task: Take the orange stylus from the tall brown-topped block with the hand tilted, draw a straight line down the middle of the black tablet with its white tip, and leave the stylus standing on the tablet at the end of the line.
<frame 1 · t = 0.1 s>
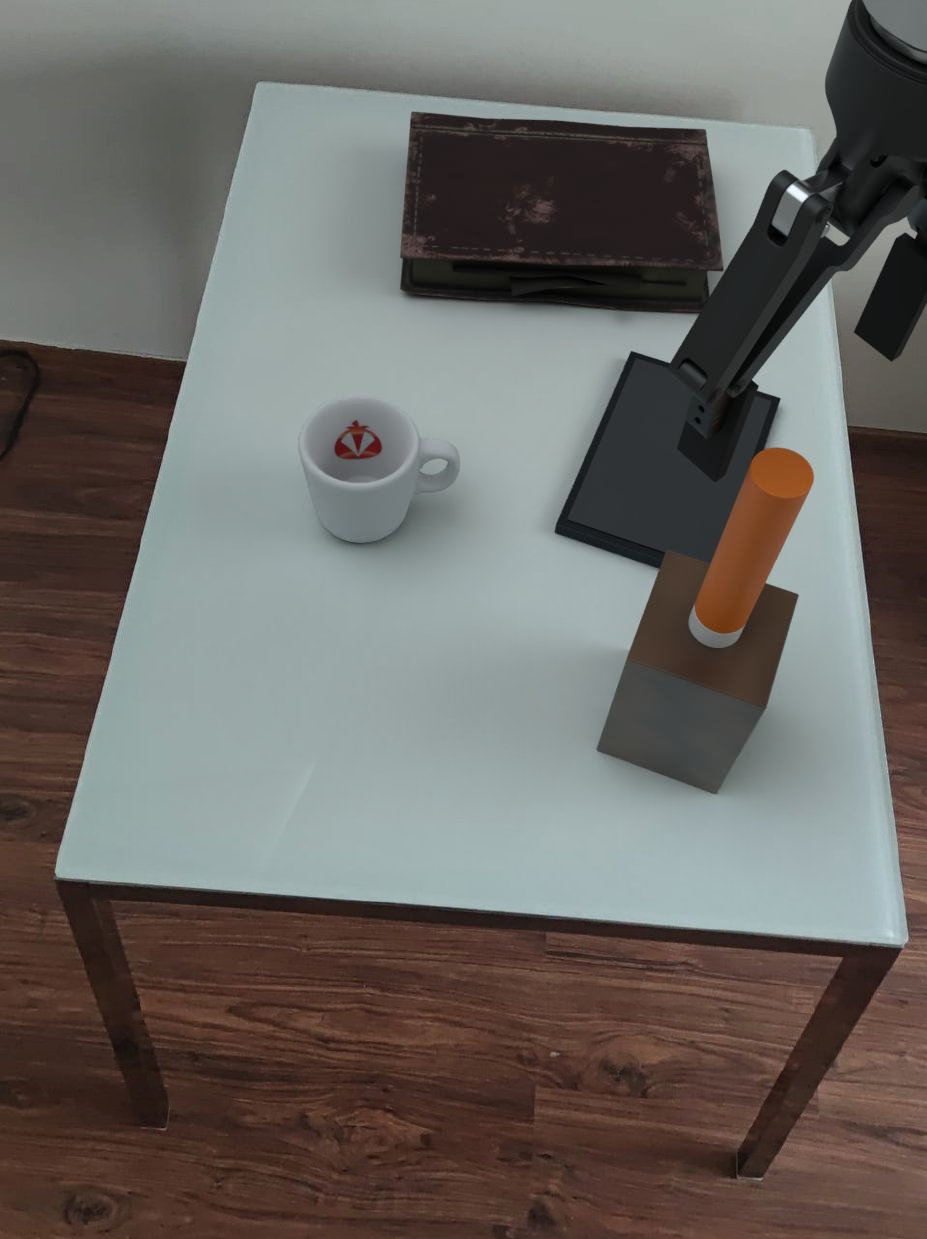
hand: (792, 401, 64), 23 cm above the table, tool pointing down, fingers open, 13 cm apart
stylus: (714, 625, 69), point 12 cm above the table, touching tall brown-topped block
tablet: (670, 467, 90), on the table
cup: (381, 511, 87), on the table
diary: (553, 235, 102), on the table
tall brown-topped block: (673, 720, 79), on the table
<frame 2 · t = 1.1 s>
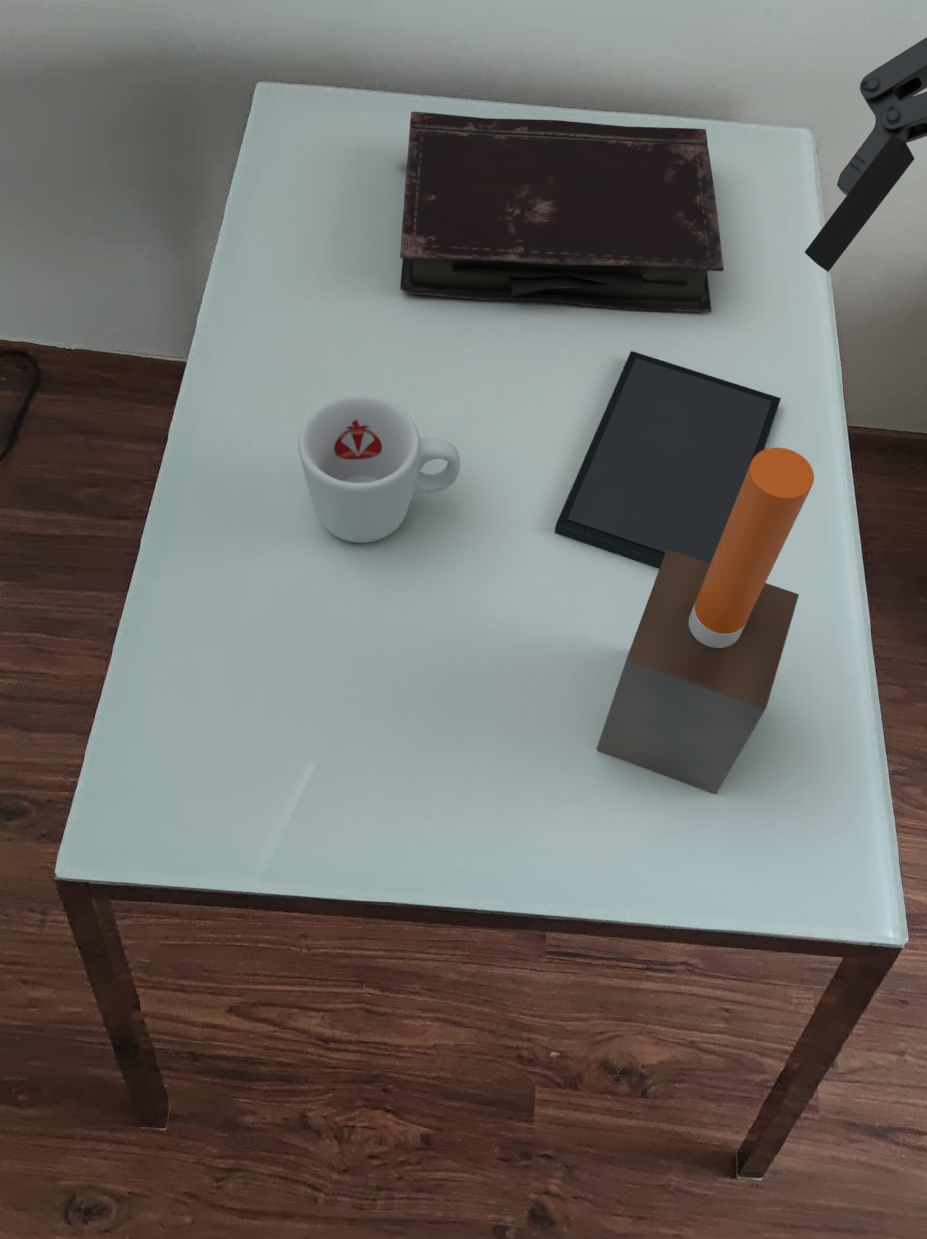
hand: (925, 340, 59), 28 cm above the table, tool tilted 45°, fingers open, 13 cm apart
nothing on the table moved.
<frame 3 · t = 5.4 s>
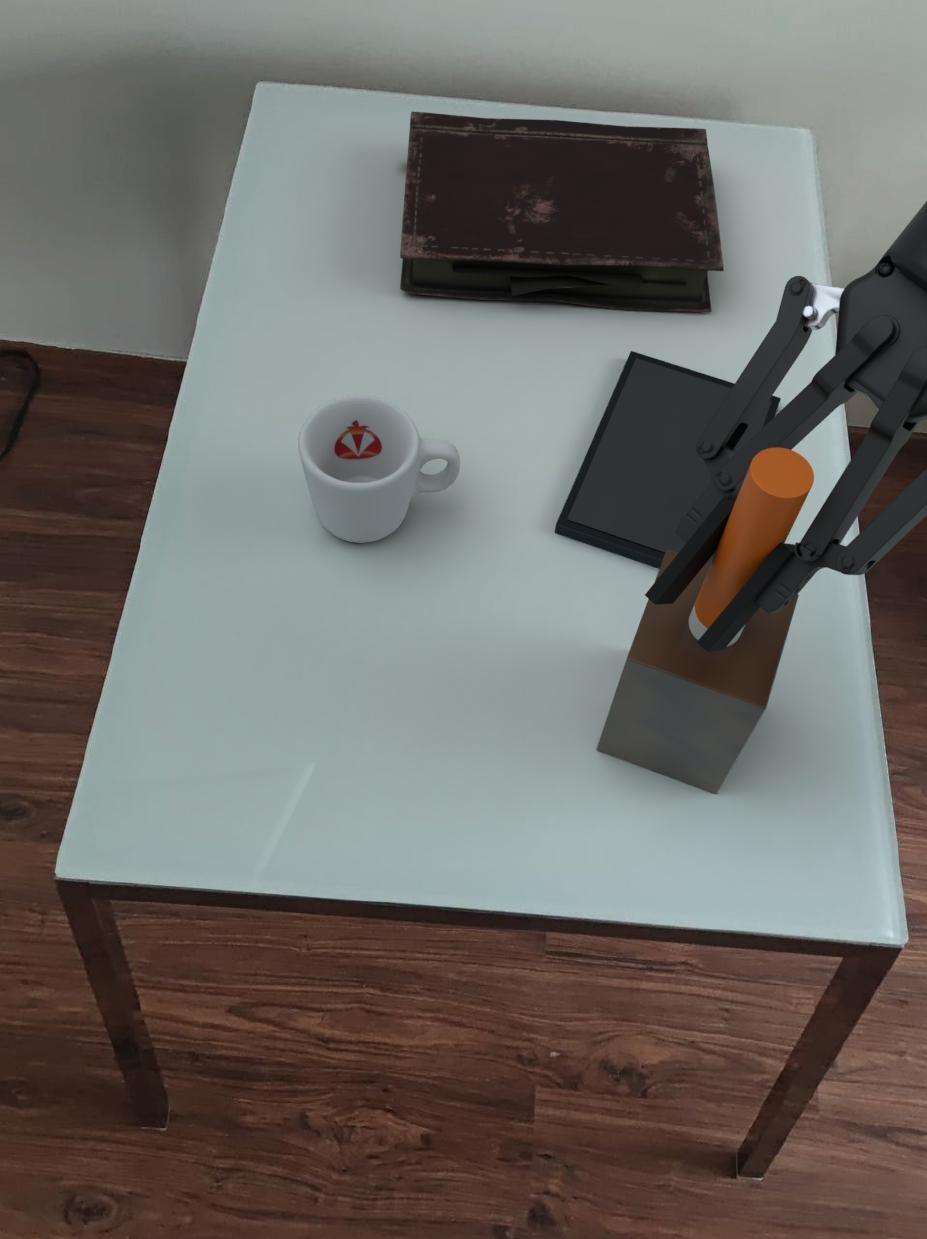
hand: (685, 621, 63), 17 cm above the table, tool tilted 45°, fingers closed on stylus, 3 cm apart
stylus: (714, 625, 69), point 12 cm above the table, touching gripper, tall brown-topped block
everything else where it was.
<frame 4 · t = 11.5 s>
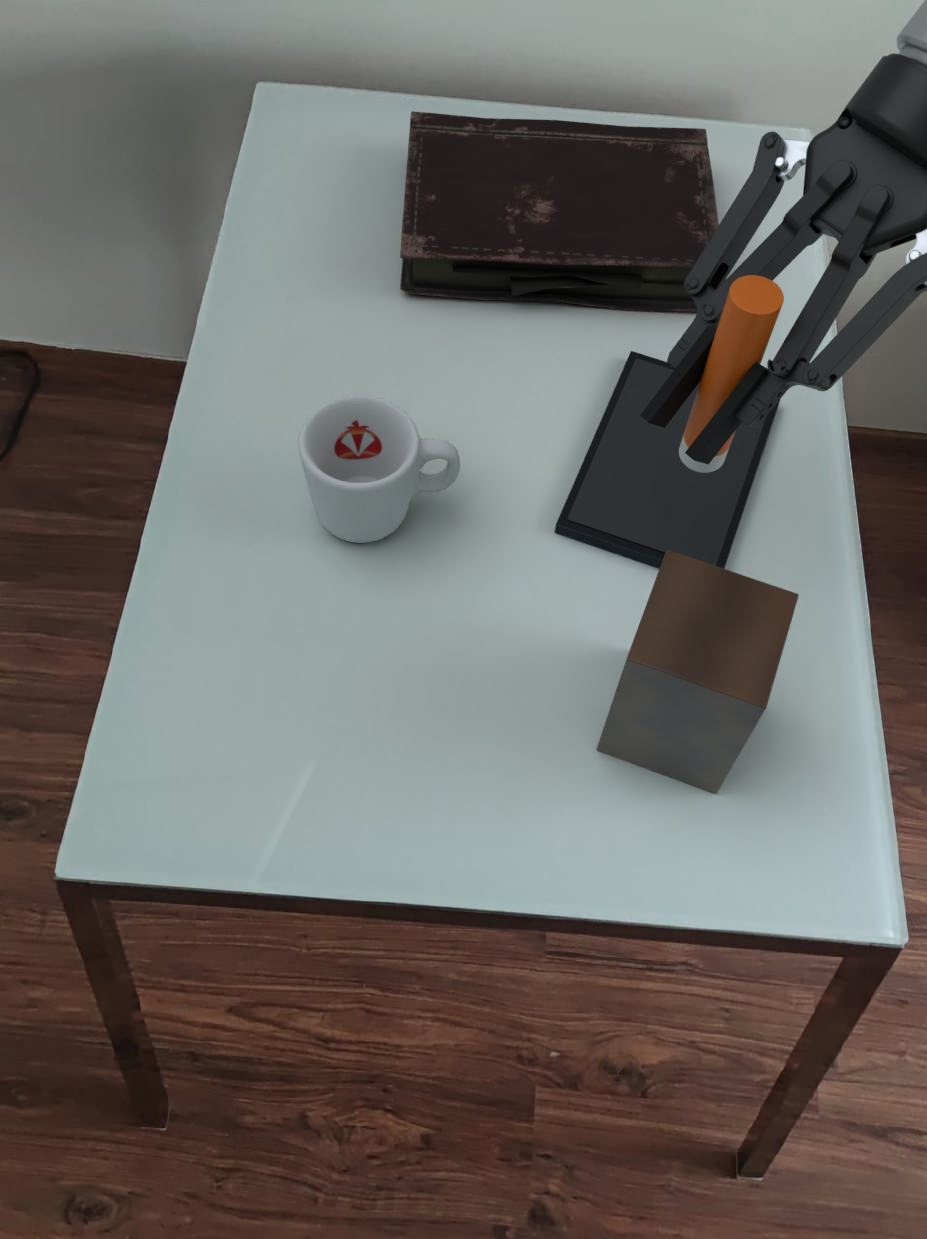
hand: (674, 439, 73), 14 cm above the table, tool tilted 45°, fingers closed on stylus, 3 cm apart
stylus: (701, 454, 79), point 9 cm above the table, touching gripper
everything else where it was.
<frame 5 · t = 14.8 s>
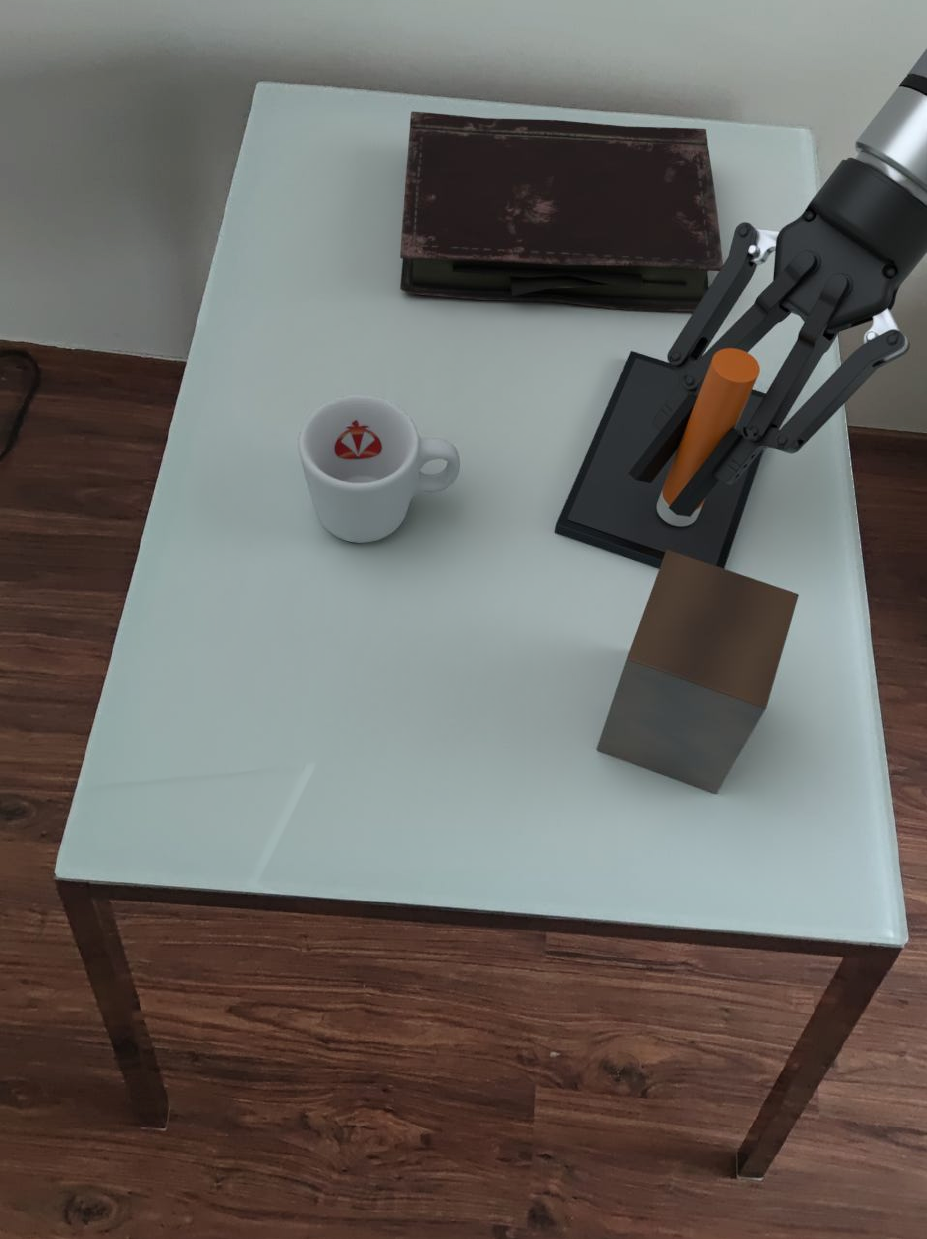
hand: (659, 494, 81), 6 cm above the table, tool tilted 45°, fingers closed on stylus, 3 cm apart
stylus: (677, 510, 86), point 1 cm above the table, tilted 5°, touching gripper
everything else where it was.
when the fingers open (6 cm above the table, at t = 17.6 s): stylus stays where it is, resting on tablet.
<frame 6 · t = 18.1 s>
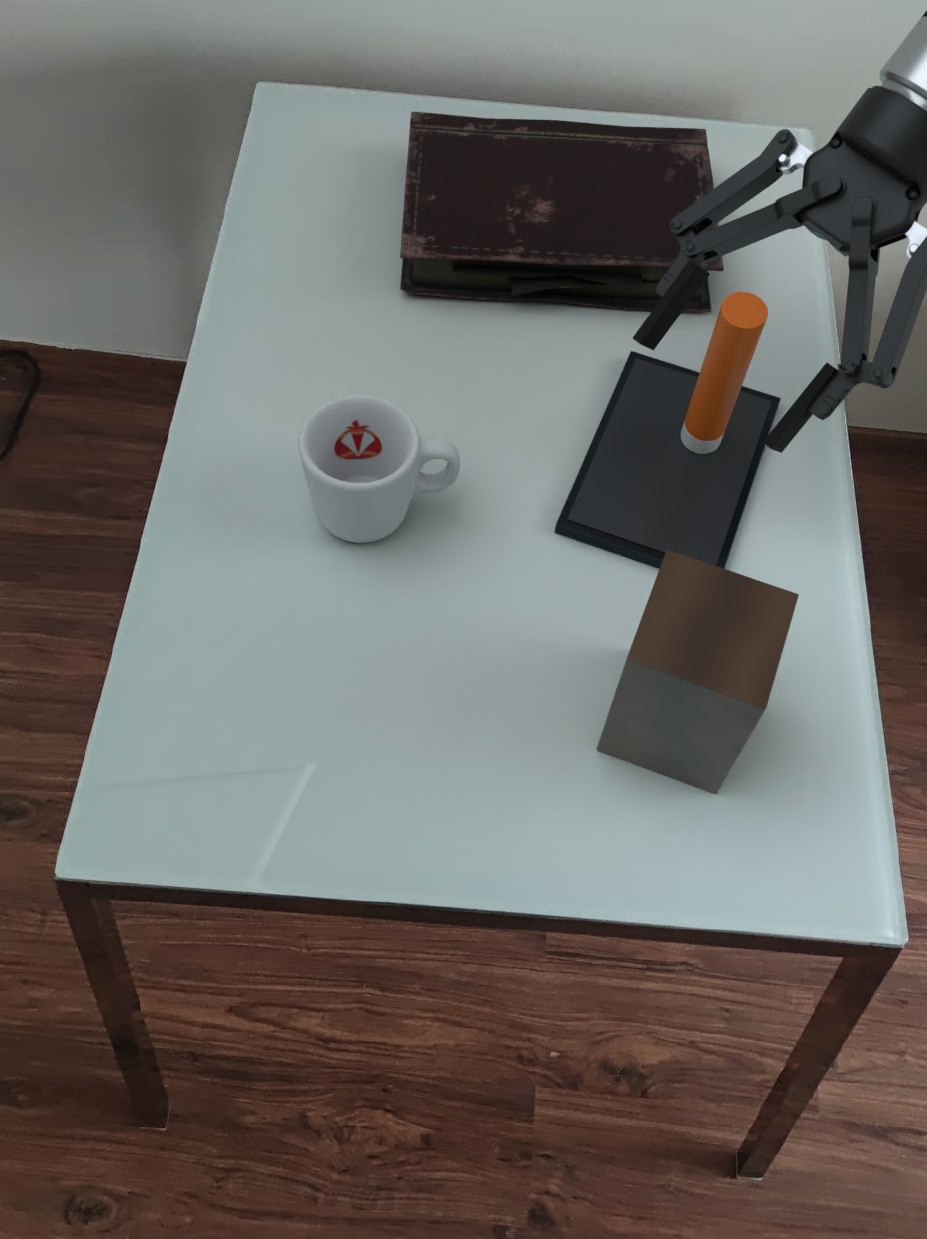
hand: (705, 395, 85), 7 cm above the table, tool tilted 45°, fingers open, 11 cm apart
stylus: (700, 437, 90), point 1 cm above the table, touching tablet
everything else where it was.
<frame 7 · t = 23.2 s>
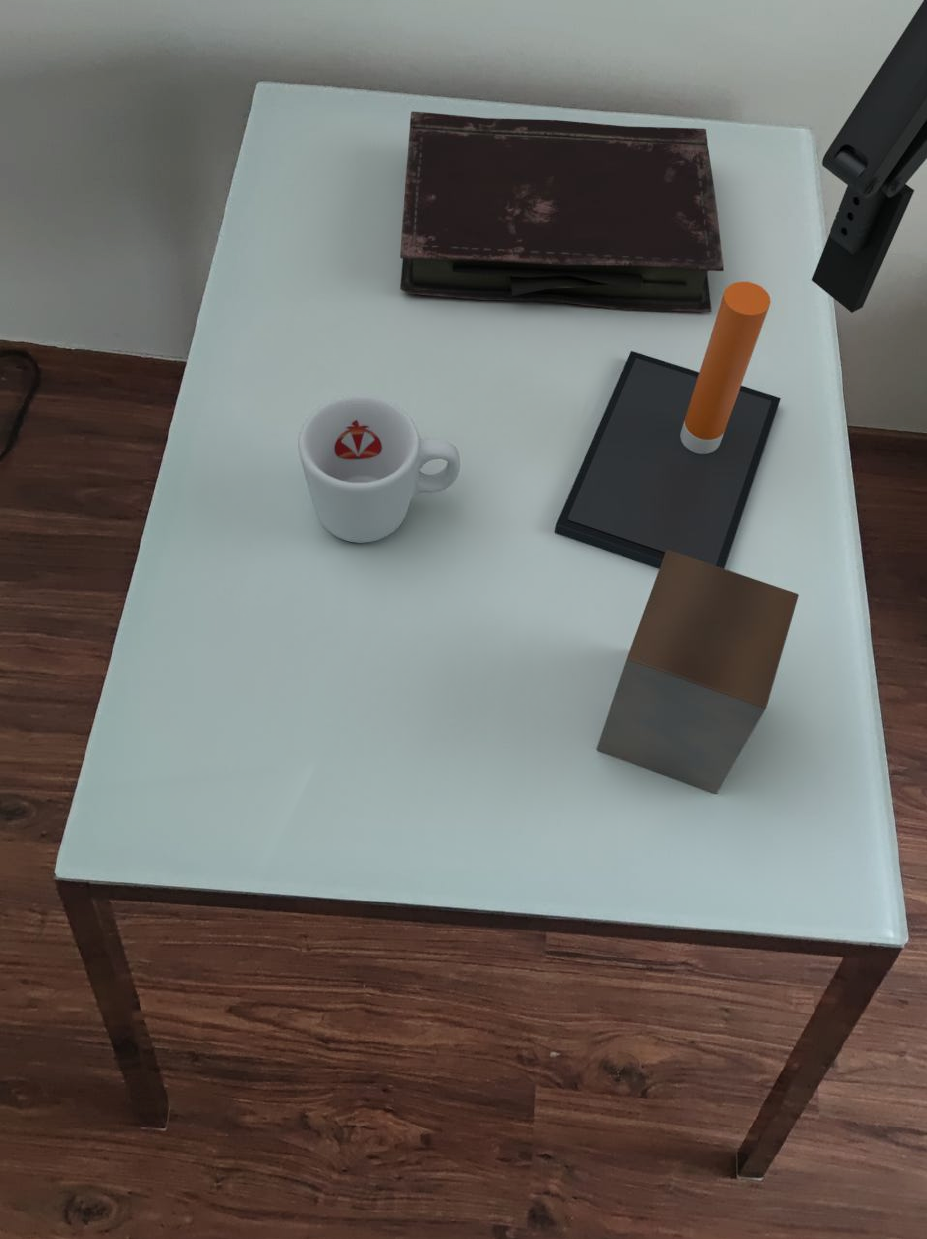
nothing on the table moved.
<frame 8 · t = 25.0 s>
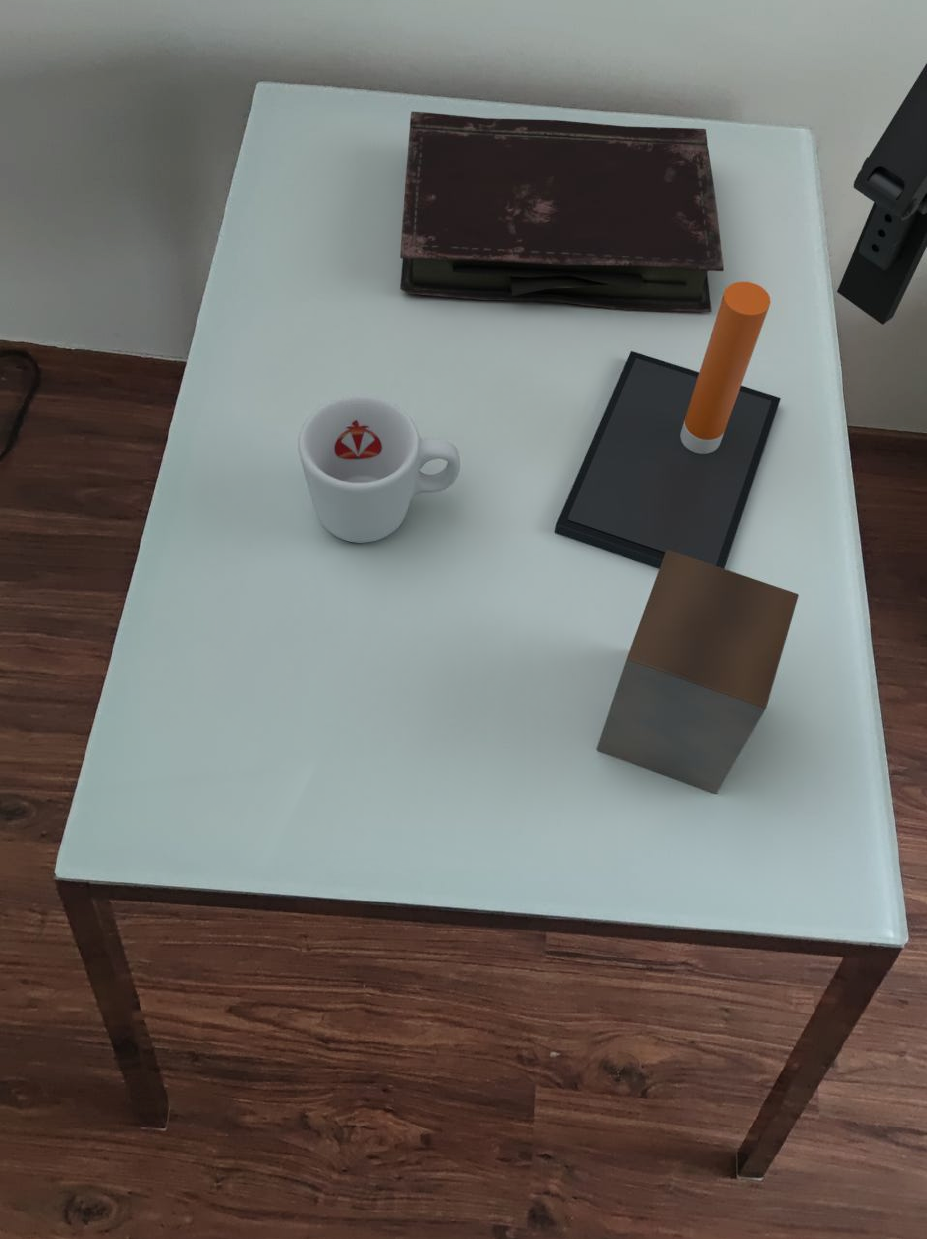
nothing on the table moved.
at the end: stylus 1.5 cm from the target spot on the tablet, point 1.1 cm above the tablet's base; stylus touching tablet; the gripper is holding nothing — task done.
